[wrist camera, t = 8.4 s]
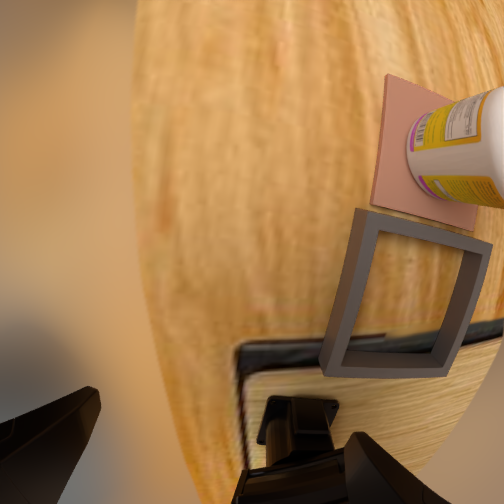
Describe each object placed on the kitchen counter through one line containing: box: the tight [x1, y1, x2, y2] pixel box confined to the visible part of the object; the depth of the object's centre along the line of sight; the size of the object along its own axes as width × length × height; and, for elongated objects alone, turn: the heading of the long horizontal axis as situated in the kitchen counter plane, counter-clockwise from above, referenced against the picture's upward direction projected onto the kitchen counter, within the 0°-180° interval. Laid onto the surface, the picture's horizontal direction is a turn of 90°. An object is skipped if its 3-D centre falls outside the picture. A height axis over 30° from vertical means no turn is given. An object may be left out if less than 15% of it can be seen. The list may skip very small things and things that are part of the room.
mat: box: [370, 74, 478, 232], centre depth 18 cm, size 10×10×1 cm
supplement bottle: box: [406, 86, 504, 209], centre depth 12 cm, size 7×7×13 cm
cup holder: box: [318, 208, 493, 379], centre depth 20 cm, size 12×12×2 cm
